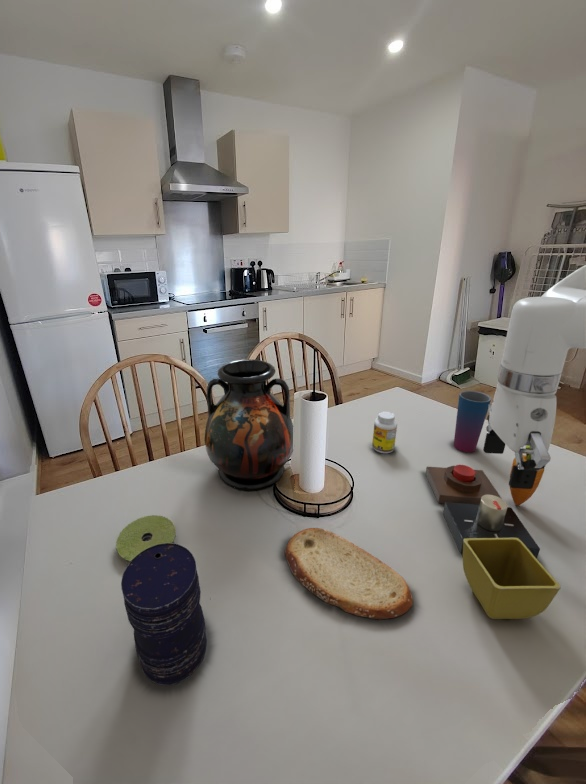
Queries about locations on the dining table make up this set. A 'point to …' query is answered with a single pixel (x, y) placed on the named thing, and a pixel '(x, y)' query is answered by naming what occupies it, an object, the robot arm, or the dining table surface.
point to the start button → (464, 473)
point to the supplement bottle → (384, 432)
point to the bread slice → (347, 575)
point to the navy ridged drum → (165, 612)
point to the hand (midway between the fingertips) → (505, 468)
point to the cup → (470, 419)
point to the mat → (144, 535)
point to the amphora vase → (249, 426)
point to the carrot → (524, 494)
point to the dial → (491, 512)
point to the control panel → (466, 526)
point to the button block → (458, 486)
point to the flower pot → (507, 578)
